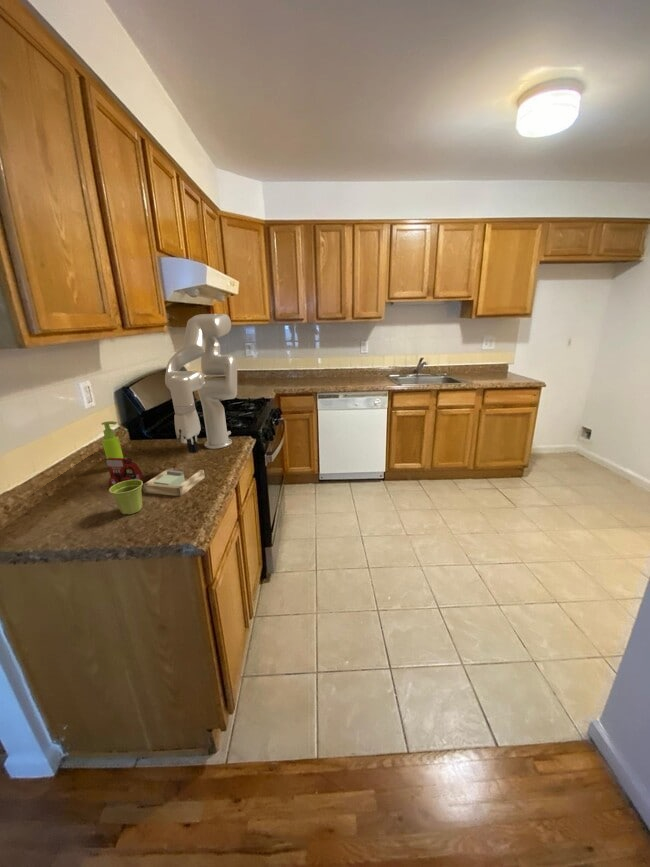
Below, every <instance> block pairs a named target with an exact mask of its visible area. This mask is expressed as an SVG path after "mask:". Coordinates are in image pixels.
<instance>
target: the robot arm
mask: <svg viewBox="0 0 650 867" xmlns="http://www.w3.org/2000/svg"><path fill="white" fill-rule="evenodd" d="M185 327H186V328H185V333H184V338H183V344H182V347H181V348H180V349H178V350H177V351H176V352H175V353H174V354H173V355H172V357H171V358H170V359H169V361H168V362H167V364H166V369H165V370H166V371H165V376H164V382H165V386H166V388H167V389H168V390H169V392H170V396H171V399H172V405H173V410H174V415H173V416H174V429H175V435H176V439H178V440H180V444H186V445H187V450H188V453H189V454H197V453H198V451H199V448H198V444H197V443H198V436H199V434H200V431H201V422H200V418H199V415H198V412H197V409H196V405H195V404H196V403H195V397H194V393H193V392H196V391H197V394H198V397H199V399H200V403H201V407H202V413H203V420H204V426H205V434H206V439H207V440H206V441H205V442H204V447H205V448H207V449H213V450H215V449H222V448H226V447H228V446H230V445H232V443H233V440H232V439H231V438H229V436H230V435H231V434H232V432H231V430H228V429H227V427H228V426H227V422H226V420H227V419H226V413H225V407H224V405H223V404H222V402H221V401H220V400H233V399H235V398H236V397H237V395H238V365H237V359H236V358H235V356H234V355H232V354H231V355H230V354H221V344H220V343H219V341H218V339H217V338H221V337H224V336H226V335H227V334H229V332H230V331H231V329H232V321H231V318H230V316H229V315H227V314H226V313H203V314H201V313H200V314H196V315H194V316H192V317H191V318H189V319H188V320H187V323H186V326H185ZM197 359H201V360H200V367H201V368H200V369H201V372H200V371H198V370H181V369H182V368H183V366H185V365H187V364H189V363H191V362H193V361H195V360H197ZM205 376H206V377H219V378H205ZM220 377H223V378H220ZM224 377H225V378H224Z"/></svg>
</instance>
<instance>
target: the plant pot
mask: <svg viewBox="0 0 650 867" xmlns="http://www.w3.org/2000/svg"><path fill="white" fill-rule="evenodd" d="M143 484H144V483H143V480H127V481H123V482H120V483H117V484H115V485H113V486H110V487H109V489H108V492H109V493H110V494H111V495H112V497H113V498H114V499H115V502H116V504H117V506H118V509H119V511H120V513H121V514H122V515H132V514H135V513H138V512H140V511H141V509H143V496H142V490H143Z"/></svg>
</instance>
